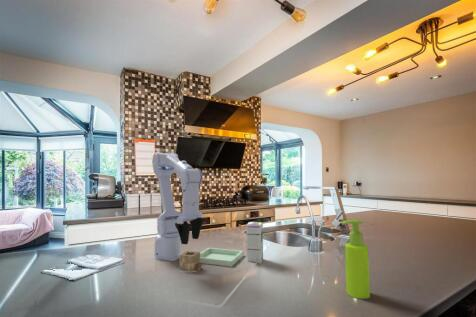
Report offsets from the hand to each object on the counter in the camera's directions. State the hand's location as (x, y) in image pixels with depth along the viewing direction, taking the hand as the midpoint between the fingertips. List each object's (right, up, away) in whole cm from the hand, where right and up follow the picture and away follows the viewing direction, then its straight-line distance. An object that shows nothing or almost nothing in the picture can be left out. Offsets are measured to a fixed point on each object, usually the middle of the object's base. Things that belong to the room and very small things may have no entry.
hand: (190, 241), depth 89 cm
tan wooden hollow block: (0, -9, -1) cm, 9 cm away
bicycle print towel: (-39, -11, +2) cm, 40 cm away
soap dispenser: (+50, -9, -19) cm, 54 cm away
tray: (+9, -11, +10) cm, 17 cm away
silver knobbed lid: (0, -10, -1) cm, 10 cm away
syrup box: (+23, -11, +9) cm, 27 cm away
